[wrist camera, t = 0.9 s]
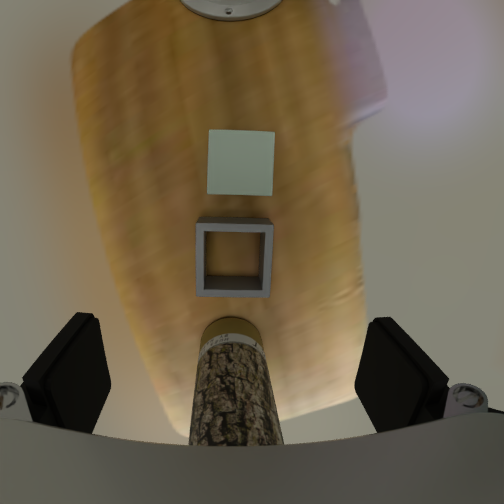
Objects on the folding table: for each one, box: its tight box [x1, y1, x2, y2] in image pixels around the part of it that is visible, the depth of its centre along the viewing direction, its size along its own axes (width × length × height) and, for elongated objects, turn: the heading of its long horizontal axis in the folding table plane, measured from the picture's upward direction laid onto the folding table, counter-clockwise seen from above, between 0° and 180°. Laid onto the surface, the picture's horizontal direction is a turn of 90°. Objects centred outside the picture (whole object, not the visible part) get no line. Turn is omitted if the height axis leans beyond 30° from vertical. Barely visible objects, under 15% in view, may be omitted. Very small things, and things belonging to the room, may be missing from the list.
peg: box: [207, 130, 275, 196], centre depth 25 cm, size 4×4×12 cm
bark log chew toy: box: [189, 318, 284, 446], centre depth 23 cm, size 7×7×25 cm
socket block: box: [196, 217, 274, 297], centre depth 31 cm, size 7×7×4 cm
